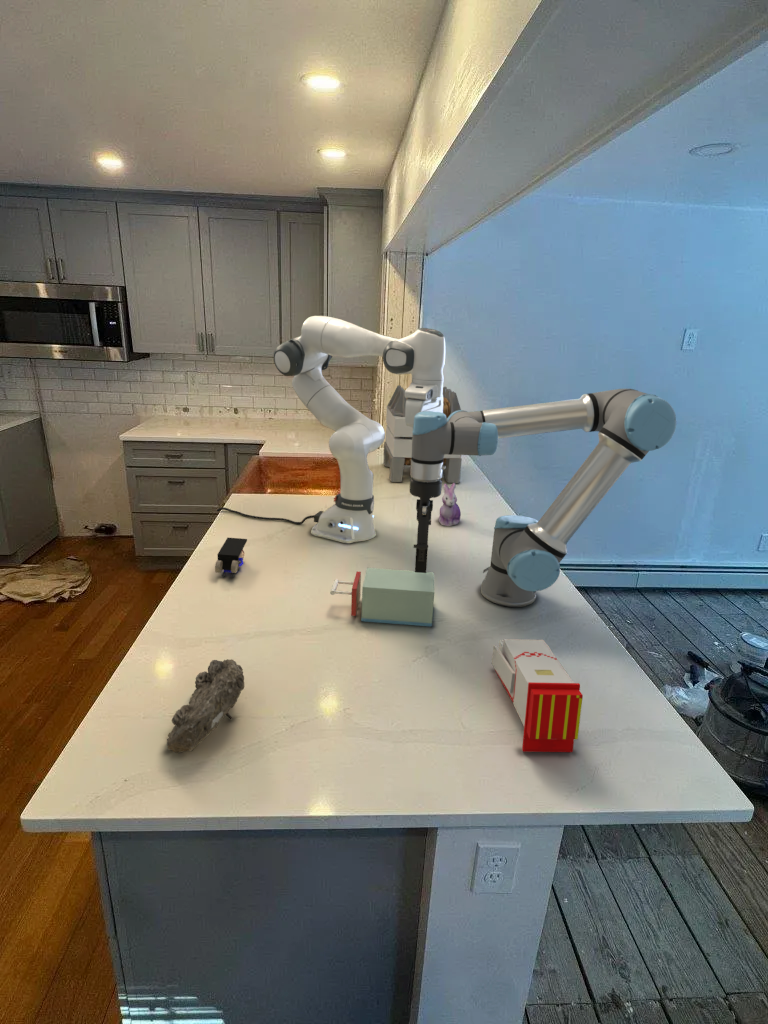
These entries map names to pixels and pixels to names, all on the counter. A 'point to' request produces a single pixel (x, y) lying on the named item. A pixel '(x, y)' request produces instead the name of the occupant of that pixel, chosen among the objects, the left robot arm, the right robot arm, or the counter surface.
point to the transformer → (401, 437)
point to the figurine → (449, 507)
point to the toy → (539, 694)
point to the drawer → (354, 593)
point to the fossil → (206, 705)
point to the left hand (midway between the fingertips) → (423, 437)
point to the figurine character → (230, 556)
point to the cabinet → (398, 597)
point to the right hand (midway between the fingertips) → (421, 560)
